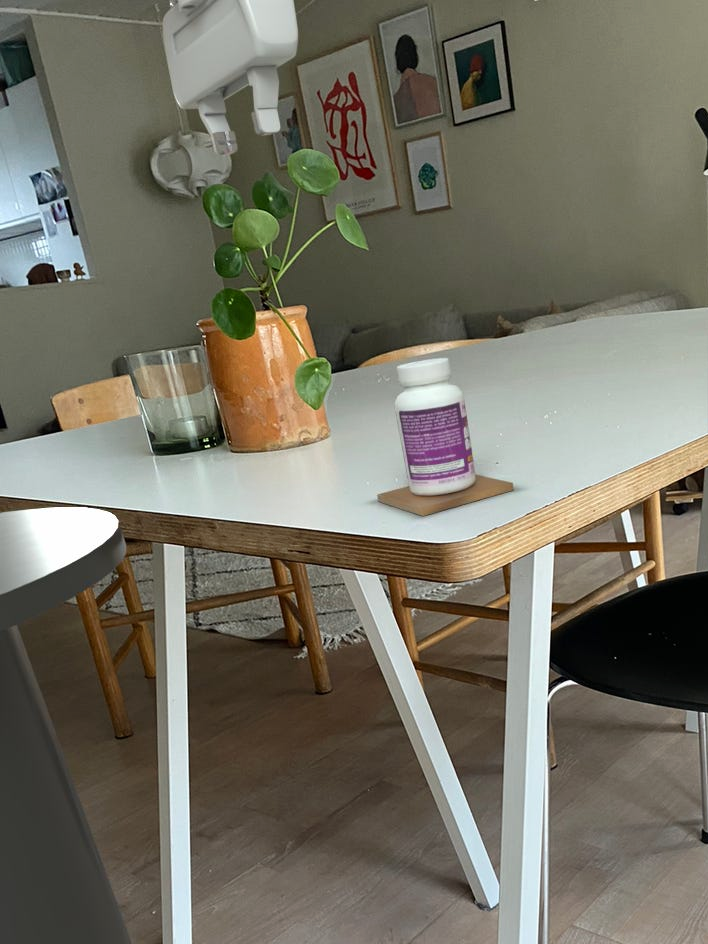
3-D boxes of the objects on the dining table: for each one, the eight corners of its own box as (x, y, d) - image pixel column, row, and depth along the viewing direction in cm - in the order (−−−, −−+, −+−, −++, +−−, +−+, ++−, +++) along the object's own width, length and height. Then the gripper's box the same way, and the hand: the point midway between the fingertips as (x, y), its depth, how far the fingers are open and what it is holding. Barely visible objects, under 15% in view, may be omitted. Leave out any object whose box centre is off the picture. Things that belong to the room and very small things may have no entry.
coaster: (422, 516, 68) (421, 508, 68) (377, 501, 75) (376, 494, 74) (514, 490, 71) (513, 482, 71) (463, 478, 78) (462, 471, 78)
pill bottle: (489, 484, 72) (470, 356, 68) (426, 501, 70) (404, 369, 66) (459, 476, 76) (439, 355, 73) (399, 491, 74) (377, 367, 71)
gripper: (133, -1, 84) (174, 167, 90) (215, -88, 68) (260, 122, 74) (199, -1, 88) (235, 162, 93) (292, -83, 72) (329, 118, 77)
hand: (247, 144), depth 83 cm, fingers open, 8 cm apart
